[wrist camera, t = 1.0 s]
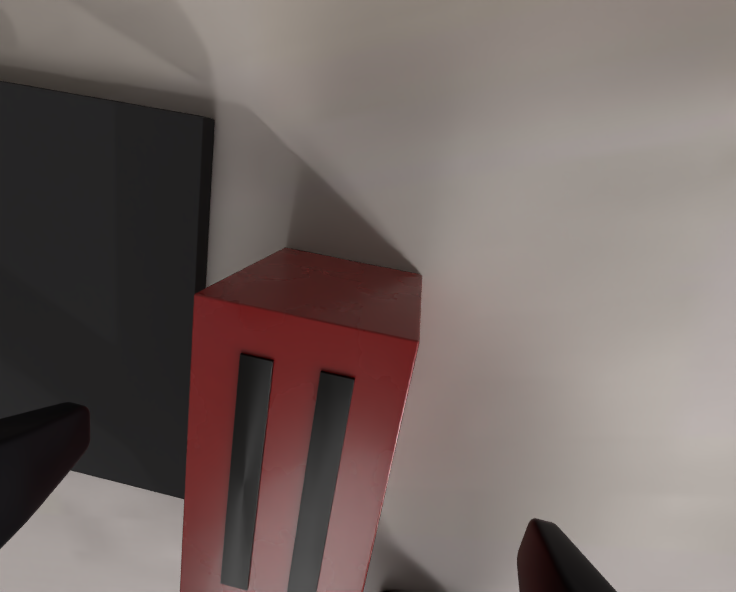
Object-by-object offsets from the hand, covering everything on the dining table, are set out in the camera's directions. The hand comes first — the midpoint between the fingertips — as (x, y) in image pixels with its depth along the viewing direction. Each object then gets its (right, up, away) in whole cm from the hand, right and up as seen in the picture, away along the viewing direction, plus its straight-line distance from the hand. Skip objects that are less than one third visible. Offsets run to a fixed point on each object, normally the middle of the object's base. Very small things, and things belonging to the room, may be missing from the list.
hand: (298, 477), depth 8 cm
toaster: (0, 0, +13) cm, 13 cm away
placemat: (-14, +3, +14) cm, 20 cm away
